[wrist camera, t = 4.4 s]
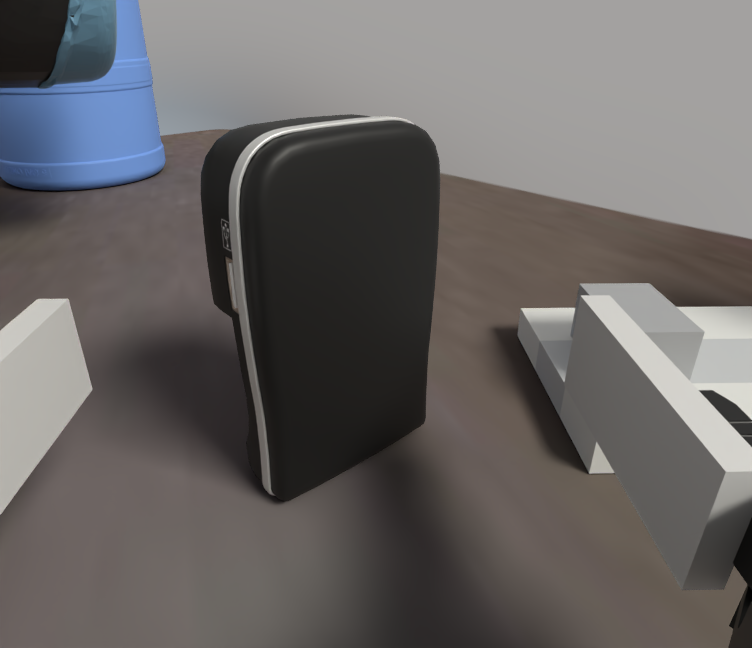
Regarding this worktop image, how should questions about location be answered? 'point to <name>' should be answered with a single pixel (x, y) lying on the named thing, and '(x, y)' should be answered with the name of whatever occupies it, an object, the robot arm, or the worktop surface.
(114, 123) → the water jug
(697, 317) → the mount
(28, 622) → the worktop surface
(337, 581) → the worktop surface
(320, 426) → the battery charger
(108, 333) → the worktop surface
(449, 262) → the worktop surface
